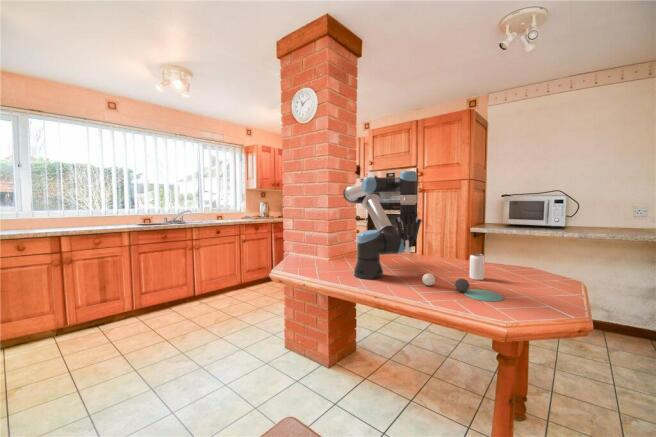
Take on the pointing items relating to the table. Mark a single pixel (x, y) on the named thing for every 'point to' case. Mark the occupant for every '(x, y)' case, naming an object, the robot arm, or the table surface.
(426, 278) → the cue ball
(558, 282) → the table surface
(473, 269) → the can
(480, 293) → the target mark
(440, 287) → the table surface
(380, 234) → the robot arm
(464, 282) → the object ball
